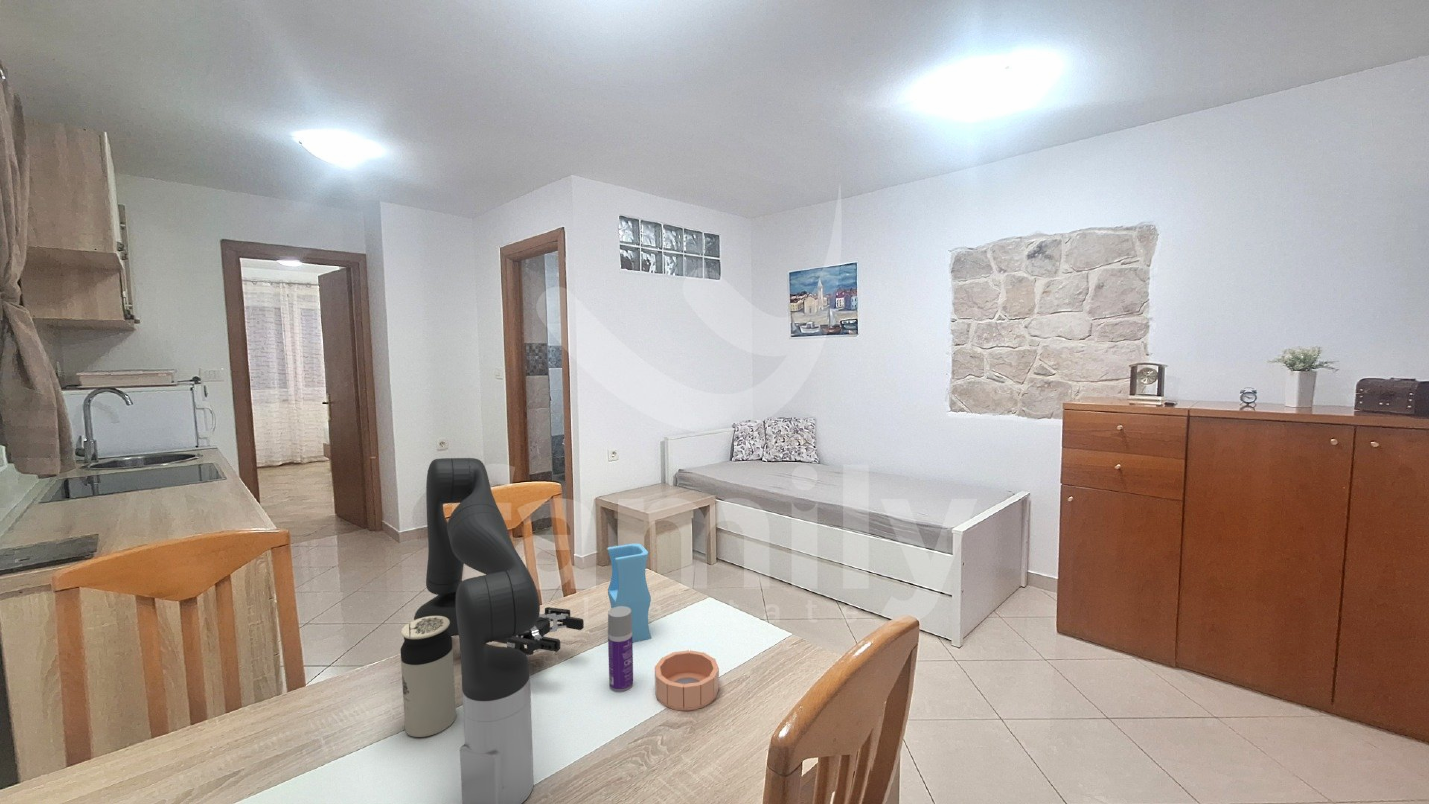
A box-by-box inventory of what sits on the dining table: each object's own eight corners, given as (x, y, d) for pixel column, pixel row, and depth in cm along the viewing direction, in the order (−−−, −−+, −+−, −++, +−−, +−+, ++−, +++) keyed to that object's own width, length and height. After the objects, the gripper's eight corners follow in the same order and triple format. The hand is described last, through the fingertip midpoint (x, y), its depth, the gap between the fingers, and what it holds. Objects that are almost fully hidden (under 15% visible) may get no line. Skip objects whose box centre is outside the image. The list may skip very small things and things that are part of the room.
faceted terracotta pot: (706, 716, 98) (706, 692, 98) (645, 703, 102) (645, 680, 101) (725, 678, 110) (725, 656, 109) (669, 668, 113) (669, 646, 113)
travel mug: (457, 704, 102) (452, 611, 100) (454, 731, 94) (449, 632, 93) (409, 714, 99) (403, 619, 97) (401, 744, 92) (395, 641, 90)
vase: (608, 630, 129) (606, 547, 127) (641, 622, 132) (639, 542, 130) (617, 646, 122) (615, 559, 120) (651, 638, 125) (650, 553, 123)
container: (628, 693, 105) (626, 618, 104) (605, 690, 106) (603, 616, 104) (636, 679, 110) (635, 606, 108) (614, 676, 110) (612, 604, 109)
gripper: (479, 622, 108) (550, 634, 103) (524, 591, 121) (589, 601, 117) (480, 658, 109) (551, 672, 104) (525, 624, 122) (590, 635, 117)
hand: (571, 634), depth 110 cm, fingers open, 8 cm apart
